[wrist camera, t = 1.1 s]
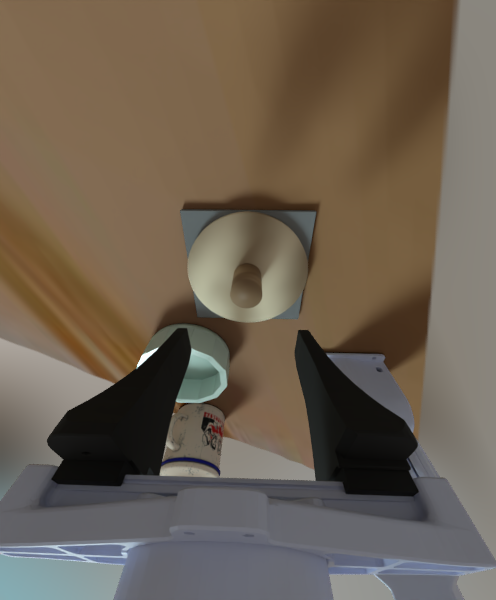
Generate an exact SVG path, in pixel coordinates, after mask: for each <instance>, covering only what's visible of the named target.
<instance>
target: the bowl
mask: <svg viewBox="0 0 496 600" xmlns="http://www.w3.org/2000/svg"><path fill="white" fill-rule="evenodd" d="M177 328H187V330H188V335H189V339H190V344H191V349H192V352H191V356H190V361H189V365H188V368H187V371H186V374H185V376H184V379H183V382H182V385H181V388H180V390H179V393H178V396H177V399H176V402H179V403H202V402H205V401H208V400H211V399H214V398H217V397H218V396H219V395H220V394H221V393H222V392H223V390H224V389H225V388H226V387H227V384H228V375H229V367H230V364H229V359H230V353H229V349H228V346H227V345H226V343H225V342H224V340H223V339H222V338H221V337H220V336H219V335H217V334H216V333H214V332H213V331H211V330H209V329H207V328H205V327H202V326H199V325H194V324H186V323H180V324H173V325H169V326H166V327H164V328H162V329H160V330H159V331H158V332H157V333H156V334H155V335H154V336H153V337H152V339H151V340H150V342H149V344H148V346H147V347H146V349H145V351H144V353H143V354H142V356H141V359H140V361H139V363H138V365H137V367H138V366H140V365H141V364H142V363H143V362H144V361H145V360H146V359H148V358H149V357H150V356H151V355H152V354H153V353H154V352H155V351H156V350H157V349H158V348H159V347H160V346H161V345H162V344H163V343H164V342H165V341H166V340H167V339H168V338H169V337H170V336H171V334H172V333H173V332H174V331H175V330H176V329H177Z"/></svg>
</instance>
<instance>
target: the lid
mask: <svg viewBox="0 0 496 600" xmlns="http://www.w3.org/2000/svg"><path fill="white" fill-rule="evenodd" d="M307 276H308V261H307V256H306V253H305V250H304V248H303V246H302V244H301V242H300V240H299V238H298V237H297V236H296V234H295V233H294V232H293V231H292V230H291V229H290V228H289V227H288V226H287V225H286V224H284V223H283V222H282V221H280V220H278V219H276V218H275V217H272V216H270V215H267V214H264V213H259V212H251V211H244V212H236V213H231V214H228V215H225V216H222V217H220V218H218V219H216V220H215V221H213V222H212V223H210V224H209V225H208V226H207V227H206V228H205V229H204V230H203V231H202V232H201V233H200V235H199V236H198V237H197V239H196V240H195V242H194V244H193V245H192V248H191V250H190V253H189V258H188V277H189V281H190V284H191V286H192V289H193V291H194V293H195V294H196V296H197V297H198V299H199V300H200V301H201V302H202V303H203V304H204V305H205V306H206V307H207V308H208V309H209V310H211V311H212V312H214V313H215V314H217V315H219V316H221V317H224V318H226V319H229V320H233V321H238V322H259V321H264V320H268V319H271V318H274V317H276V316H278V315H280V314H281V313H283V312H285V311H286V310H287V309H288V308H290V307H291V306H292V305H293V304H294V303H295V302H296V300H297V299H298V298H299V297H300V295H301V293H302V291H303V289H304V287H305V284H306V281H307Z"/></svg>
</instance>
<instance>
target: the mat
mask: <svg viewBox="0 0 496 600" xmlns="http://www.w3.org/2000/svg"><path fill="white" fill-rule="evenodd" d="M244 211H251V212H259V213H264V214H267V215H270V216H272V217H275V218H276V219H278V220H280V221H282V222H283V223H284V224H286V225H287V226H288V227H289V228H290V229H291V230H292V231H293V232H294V233H295V234H296V236H297V237H298V238H299V240H300V242H301V244H302V246H303V248H304V250H305V253H306V256H307V261H308V258H309V252H310V246H311V240H312V234H313V228H314V223H315V217H316V211H315V210H199V209H182V210H180V213H181V219H182V225H183V231H184V237H185V244H186V250H187V256H188V258H189V253H190V250H191V248H192V245H193V244H194V242H195V240H196V239H197V237H198V236H199V235H200V233H201V232H202V231H203V230H204V229H205V228H206V227H207V226H208V225H209V224H210V223H212V222H213V221H215V220H216V219H218V218H220V217H222V216H225V215H228V214H231V213H236V212H244ZM193 293H194V291H193ZM302 293H303V291H302ZM302 293H301V295H300V297H299V298H298V299H297V300H296V302H295V303H294V304H293V305H292V306H291V307H290V308H288V309H287V310H286V311H285V312H283V313H281V314H280V315H278V316H276V317H274V318H271V319H298V317H299V311H300V305H301V299H302ZM194 299H195V305H196V311H197V317H209V318H224V317H221V316H219V315H217V314H215V313H214V312H212V311H211V310H209V309H208V308H207V307H206V306H205V305H204V304H203V303H202V302H201V301H200V300H199V299H198V297H197V296H196V294H195V293H194Z"/></svg>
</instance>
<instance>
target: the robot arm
mask: <svg viewBox="0 0 496 600" xmlns="http://www.w3.org/2000/svg"><path fill="white" fill-rule="evenodd" d="M191 352H192V349H191V344H190V339H189V335H188V330H187V328H177V329H176V330H175V331H174V332H173V333H172V334H171V336H170V337H169V338H168V339H167V340H166V341H165V342H164V343H163V344H162V345H161V346H160V347H159V348H158V349H157V350H156V351H155V352H154V353H153V354H152V355H151V356H150V357H149V358H148V359H146V360H145V361H144V362H143V363H142V364H141V365H140V366H138V367H137V368H136V369H135V370H133V371H132V372H131V373H130V374H128V375H127V376H126V377H124V378H123V379H121V380H120V381H118V382H117V383H116V384H114V385H113V386H111V387H110V388H108V389H106V390H105V391H103V392H102V393H100V394H98V395H97V396H95V397H93V398H91V399H90V400H88V401H86V402H84V403H83V404H80V405H78V406H77V407H75V408H73V409H71V410H69V411H68V412H67V413H66V414H65V415H64V417H63V418H62V419H61V421H60V422H59V423H58V425H57V426H56V427H55V429H54V430H53V432H52V433H51V434H50V436H49V437H48V439H47V443H48V446H49V447H50V448H51V449H52V450H53V451H54V452H55V453H57V454H58V455H59V456H60V457H61V458H62V459H64V460H63V461H62V463H61V464H60V466H59V467H57V466H53V465H39V464H29V465H27V466H26V467H25V469H24V470H23V471H22V473H21V474H20V475H19V477H18V478H17V479H16V481H15V482H14V484H13V485H12V486H11V487H10V489H9V490H8V492H7V493H6V494H5V496H4V497H3V498H2V500H1V501H0V554H2V555H6V556H9V557H26V558H43V559H57V560H70V561H81V562H93V563H105V564H117V565H124V568H123V572H122V575H121V578H120V581H119V584H118V587H117V590H116V594H115V597H114V600H333V594H332V589H331V583H330V577H329V574H373V575H374V576H376V577H377V578H378V579H379V580H380V581H382V582H383V583H384V584H385V585H386V586H387V587H388V588H389V589H390V590H391V592H392V595H393V597H394V600H464V598H463V596H462V594H461V592H460V590H459V588H458V586H457V584H456V583H457V580H458V577H459V576H460V575H465V574H470V573H475V572H480V571H484V570H489V569H494V568H496V560H495V559H494V557H493V555H492V554H491V552H490V551H489V549H488V547H487V545H486V544H485V542H484V540H483V539H482V537H481V535H480V534H479V532H478V531H477V529H476V527H475V525H474V524H473V522H472V520H471V519H470V517H469V515H468V514H467V512H466V510H465V509H464V507H463V505H462V504H461V502H460V500H459V498H458V497H457V495H456V494H455V492H454V490H453V489H452V487H451V485H450V483H449V482H448V480H447V479H445V478H440V476H439V475H438V473H437V471H436V470H435V468H434V466H433V465H432V463H431V461H430V460H429V458H428V457H427V455H426V453H425V452H424V450H423V449H422V447H421V445H420V444H419V442H418V441H417V439H416V438H415V436H414V435H413V430H414V417H413V413H412V410H411V407H410V404H409V402H408V400H407V399H406V397H405V395H404V394H403V392H402V391H401V389H400V387H399V386H398V384H397V383H396V381H395V379H394V378H393V376H392V375H391V373H390V372H389V370H388V368H387V367H386V365H385V364H384V362H383V361H384V359H385V356H384V355H383V354H354V353H325V352H324V351H323V350H322V348H321V347H320V346H319V344H318V343H317V342H316V340H315V339H314V337H313V336H312V335H311V333H310V332H309V331H308V330H298V335H297V341H296V347H295V360H296V367H297V371H298V375H299V379H300V383H301V387H302V391H303V395H304V399H305V403H306V408H307V415H308V421H309V428H310V435H311V443H312V451H313V459H314V468H315V477H316V481H304V480H274V479H271V480H270V479H244V478H242V479H241V478H214V477H184V476H160V470H161V465H162V459H163V454H164V449H165V444H166V440H167V435H168V431H169V426H170V422H171V418H172V414H173V410H174V406H175V402H176V399H177V396H178V393H179V390H180V388H181V385H182V382H183V379H184V376H185V374H186V371H187V368H188V365H189V361H190V356H191Z"/></svg>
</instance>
